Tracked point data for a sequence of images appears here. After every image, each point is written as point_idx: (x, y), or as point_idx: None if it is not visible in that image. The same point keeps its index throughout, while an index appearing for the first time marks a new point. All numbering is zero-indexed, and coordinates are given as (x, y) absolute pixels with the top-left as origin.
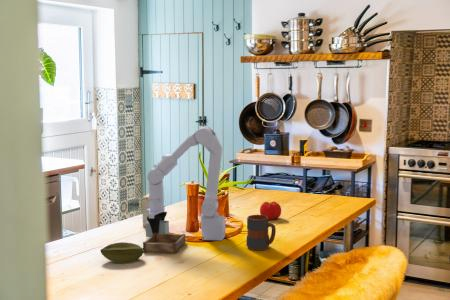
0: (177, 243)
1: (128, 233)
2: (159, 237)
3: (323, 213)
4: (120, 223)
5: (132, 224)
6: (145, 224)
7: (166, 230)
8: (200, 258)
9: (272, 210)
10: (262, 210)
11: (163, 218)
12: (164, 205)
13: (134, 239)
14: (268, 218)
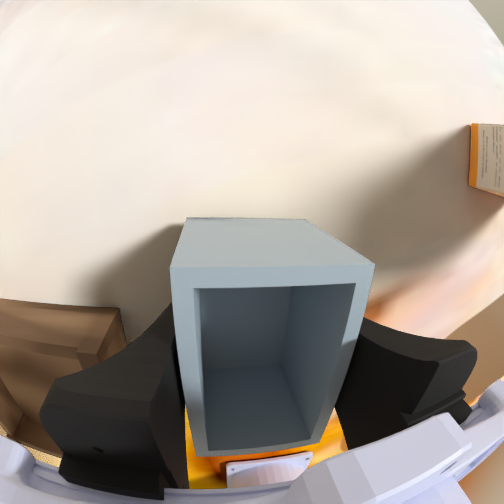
0: (33, 445)
1: (337, 31)
2: None
3: None
4: (478, 21)
5: (485, 70)
6: (481, 140)
7: (230, 401)
8: (42, 457)
9: None
10: None
11: (345, 426)
12: (496, 447)
13: (160, 115)
14: None
